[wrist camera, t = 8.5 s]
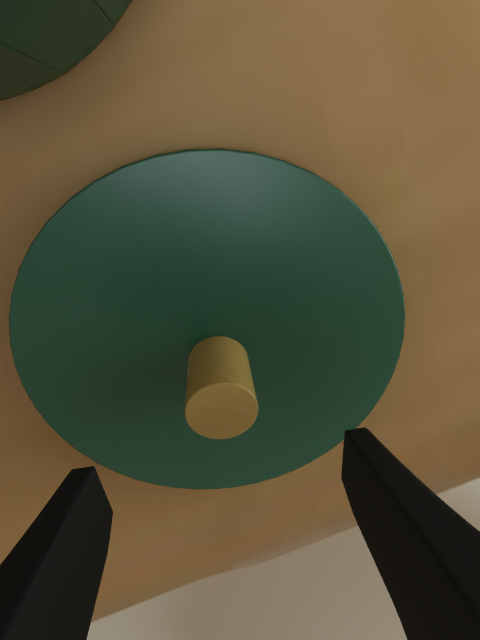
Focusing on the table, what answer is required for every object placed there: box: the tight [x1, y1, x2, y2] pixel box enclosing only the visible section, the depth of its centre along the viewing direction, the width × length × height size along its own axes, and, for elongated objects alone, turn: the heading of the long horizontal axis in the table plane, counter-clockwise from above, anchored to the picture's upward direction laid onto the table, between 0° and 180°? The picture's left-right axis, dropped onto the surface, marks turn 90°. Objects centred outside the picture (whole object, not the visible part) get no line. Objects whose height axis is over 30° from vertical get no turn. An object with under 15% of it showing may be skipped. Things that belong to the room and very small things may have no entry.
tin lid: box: [9, 148, 405, 489], centre depth 14 cm, size 17×17×4 cm
